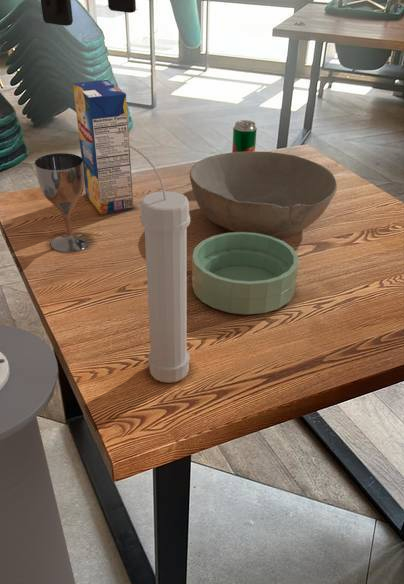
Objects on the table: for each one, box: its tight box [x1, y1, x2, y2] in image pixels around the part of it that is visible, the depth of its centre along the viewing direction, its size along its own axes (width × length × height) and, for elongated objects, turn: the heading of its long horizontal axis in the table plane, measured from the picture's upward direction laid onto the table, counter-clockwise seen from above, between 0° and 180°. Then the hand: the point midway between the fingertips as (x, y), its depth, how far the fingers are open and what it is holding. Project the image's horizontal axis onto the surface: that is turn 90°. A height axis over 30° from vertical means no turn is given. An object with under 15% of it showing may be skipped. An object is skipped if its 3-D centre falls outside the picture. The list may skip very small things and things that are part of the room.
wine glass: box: [34, 152, 91, 253], centre depth 100 cm, size 8×8×15 cm
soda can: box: [231, 119, 258, 153], centre depth 127 cm, size 5×5×12 cm
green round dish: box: [191, 231, 299, 315], centre depth 92 cm, size 17×17×6 cm
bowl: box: [189, 150, 338, 238], centre depth 110 cm, size 28×28×10 cm
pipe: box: [129, 144, 191, 384], centre depth 68 cm, size 6×6×30 cm
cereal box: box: [72, 79, 134, 215], centre depth 113 cm, size 7×11×22 cm, turn 25°
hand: (92, 17), depth 57 cm, fingers open, 9 cm apart
